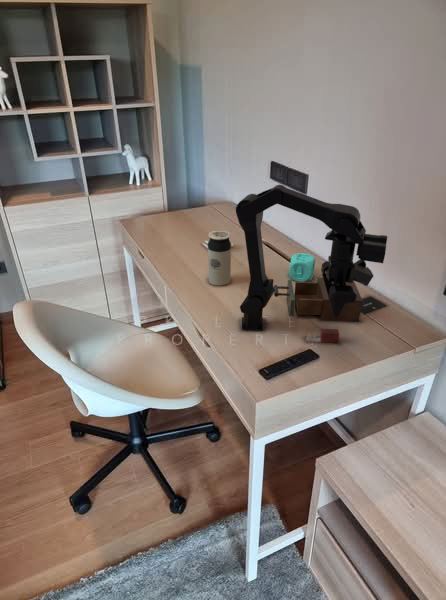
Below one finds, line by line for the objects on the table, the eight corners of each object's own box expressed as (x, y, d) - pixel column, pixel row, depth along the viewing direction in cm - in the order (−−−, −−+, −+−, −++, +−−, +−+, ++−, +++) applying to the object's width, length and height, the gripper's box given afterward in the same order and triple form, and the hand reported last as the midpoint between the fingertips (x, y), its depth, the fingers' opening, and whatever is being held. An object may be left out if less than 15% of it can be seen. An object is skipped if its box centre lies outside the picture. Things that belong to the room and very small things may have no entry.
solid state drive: (386, 306, 141) (386, 305, 140) (364, 315, 136) (365, 313, 136) (370, 297, 146) (370, 296, 146) (348, 305, 142) (349, 303, 141)
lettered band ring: (243, 251, 175) (237, 239, 171) (223, 265, 174) (217, 253, 170) (223, 236, 189) (216, 225, 185) (204, 249, 187) (198, 238, 183)
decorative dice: (313, 274, 160) (316, 254, 156) (310, 283, 154) (312, 263, 150) (292, 271, 163) (294, 251, 159) (288, 280, 156) (289, 260, 152)
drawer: (273, 315, 134) (274, 299, 131) (272, 294, 145) (273, 279, 142) (323, 317, 133) (325, 300, 130) (317, 295, 144) (319, 280, 141)
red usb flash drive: (336, 338, 124) (338, 329, 123) (337, 343, 122) (339, 333, 121) (306, 337, 125) (307, 328, 123) (306, 342, 123) (308, 332, 121)
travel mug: (218, 274, 160) (217, 228, 151) (234, 280, 156) (235, 233, 147) (204, 281, 155) (203, 235, 146) (220, 288, 151) (220, 240, 141)
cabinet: (320, 320, 133) (323, 299, 129) (314, 297, 145) (317, 277, 142) (358, 321, 132) (362, 300, 128) (349, 298, 145) (352, 278, 141)
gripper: (383, 273, 102) (371, 328, 110) (365, 243, 118) (356, 292, 126) (335, 272, 102) (327, 326, 110) (324, 242, 118) (317, 291, 126)
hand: (333, 308), depth 118 cm, fingers open, 8 cm apart
